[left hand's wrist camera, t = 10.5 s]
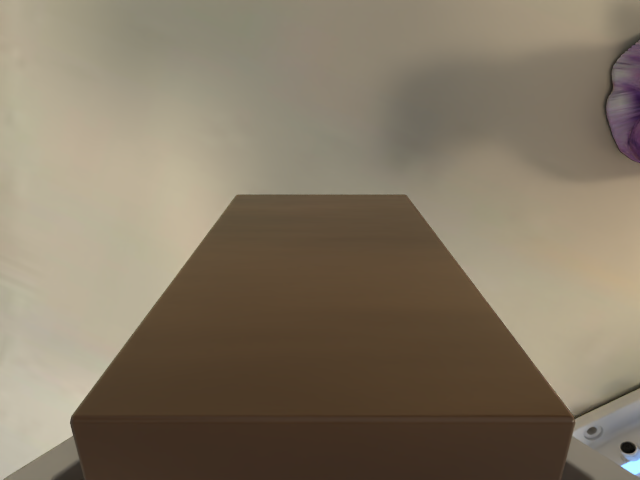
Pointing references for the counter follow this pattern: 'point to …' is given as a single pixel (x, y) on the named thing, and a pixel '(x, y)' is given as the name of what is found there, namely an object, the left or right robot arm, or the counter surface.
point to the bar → (322, 360)
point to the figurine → (626, 103)
